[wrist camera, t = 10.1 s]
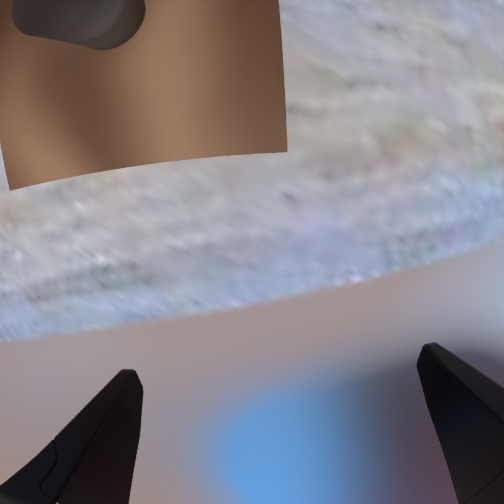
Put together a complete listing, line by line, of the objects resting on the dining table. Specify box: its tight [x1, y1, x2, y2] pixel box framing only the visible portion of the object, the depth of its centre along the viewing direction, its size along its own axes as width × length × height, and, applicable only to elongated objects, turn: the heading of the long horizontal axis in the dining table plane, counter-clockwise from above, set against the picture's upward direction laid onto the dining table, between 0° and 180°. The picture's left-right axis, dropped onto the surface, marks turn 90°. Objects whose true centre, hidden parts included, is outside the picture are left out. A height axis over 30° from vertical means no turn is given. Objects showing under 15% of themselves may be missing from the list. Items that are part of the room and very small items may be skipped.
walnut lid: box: [0, 0, 287, 191], centre depth 8 cm, size 14×14×6 cm
